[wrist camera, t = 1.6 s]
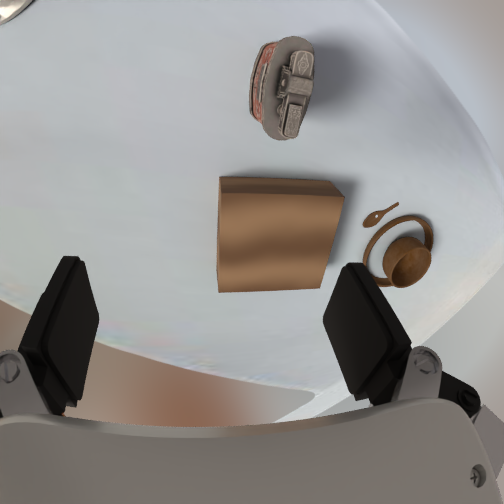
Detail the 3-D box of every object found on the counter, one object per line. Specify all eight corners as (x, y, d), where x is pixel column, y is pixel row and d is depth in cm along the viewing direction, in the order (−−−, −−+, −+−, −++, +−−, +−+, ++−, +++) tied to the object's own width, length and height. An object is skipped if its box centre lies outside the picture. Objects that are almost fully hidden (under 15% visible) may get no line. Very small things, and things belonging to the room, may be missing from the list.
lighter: (257, 39, 22) (284, 27, 14) (293, 46, 23) (335, 41, 15) (243, 118, 26) (262, 146, 18) (278, 123, 27) (311, 153, 19)
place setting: (432, 266, 44) (450, 289, 39) (331, 324, 48) (342, 352, 43) (417, 182, 34) (444, 203, 29) (286, 256, 38) (298, 288, 33)
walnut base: (219, 176, 30) (221, 193, 26) (330, 181, 32) (344, 197, 28) (216, 269, 37) (218, 292, 33) (310, 267, 39) (319, 288, 35)
